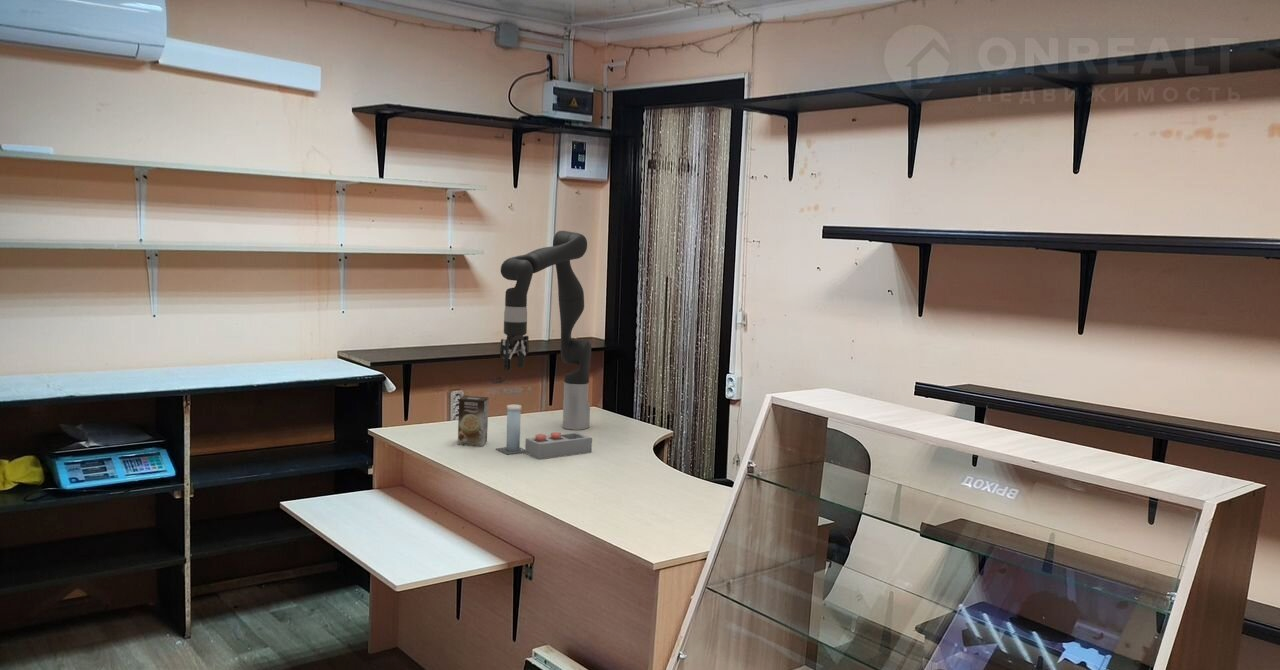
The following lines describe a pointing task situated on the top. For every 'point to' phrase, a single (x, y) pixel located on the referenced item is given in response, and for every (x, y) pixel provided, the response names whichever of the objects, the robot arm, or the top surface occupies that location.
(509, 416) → the cartridge
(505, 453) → the mat
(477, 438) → the coffee box
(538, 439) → the plunger
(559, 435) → the plunger
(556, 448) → the housing
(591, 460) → the top surface
